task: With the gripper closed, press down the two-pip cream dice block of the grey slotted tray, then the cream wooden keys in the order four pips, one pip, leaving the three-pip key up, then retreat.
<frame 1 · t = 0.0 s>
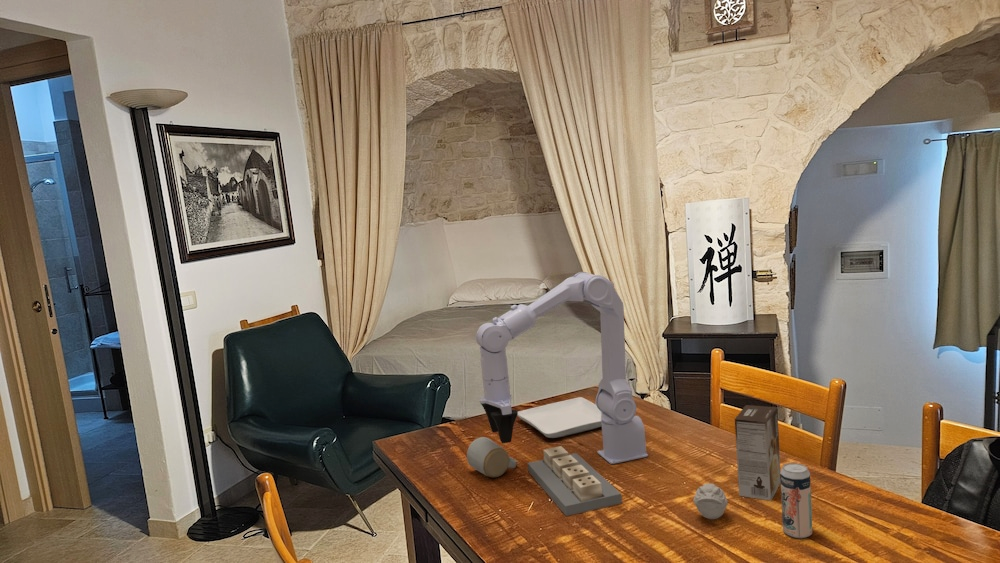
hand: (501, 436, 151), 10 cm above the table, tool pointing down, fingers open, 7 cm apart
beer can: (797, 534, 119), on the table
salad plate: (566, 426, 185), on the table
grey slotted tray: (571, 486, 146), on the table
key 4: (587, 488, 137), point 3 cm above the table, slide at 0.0 cm
cream dice block 2: (565, 467, 148), point 3 cm above the table, slide at 0.0 cm
ceramic mug: (494, 472, 158), on the table
key 3: (576, 477, 143), point 3 cm above the table, slide at 0.0 cm
coffee box: (760, 490, 136), on the table
key 1: (556, 457, 154), point 3 cm above the table, slide at 0.0 cm
frog figurine: (711, 519, 127), on the table
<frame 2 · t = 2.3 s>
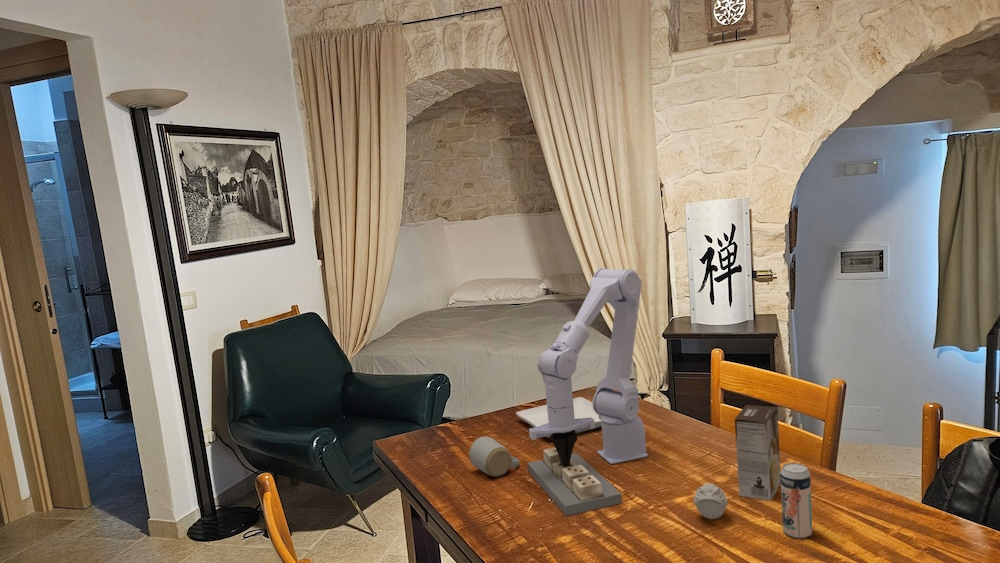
hand: (565, 464, 148), 4 cm above the table, tool pointing down, fingers closed, pressing on cream dice block 2
cream dice block 2: (566, 471, 149), point 2 cm above the table, slide at 1.1 cm, touching gripper
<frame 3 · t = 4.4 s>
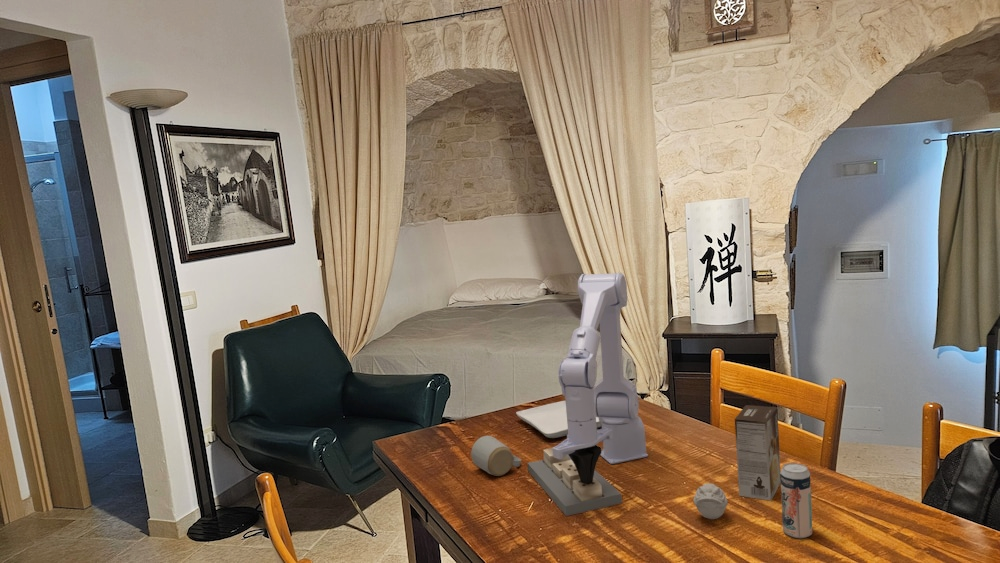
hand: (586, 482, 137), 4 cm above the table, tool pointing down, fingers closed, pressing on key 4
key 4: (587, 489, 137), point 3 cm above the table, slide at 0.3 cm, touching gripper
cream dice block 2: (566, 472, 149), point 2 cm above the table, slide at 1.1 cm
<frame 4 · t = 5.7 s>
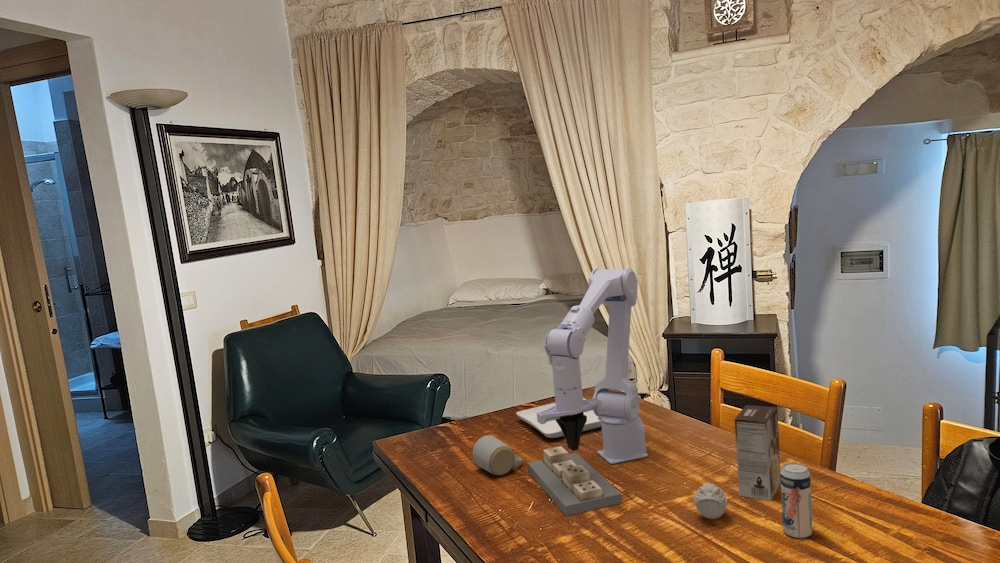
hand: (573, 448, 142), 9 cm above the table, tool pointing down, fingers closed
key 4: (587, 493, 137), point 2 cm above the table, slide at 1.1 cm
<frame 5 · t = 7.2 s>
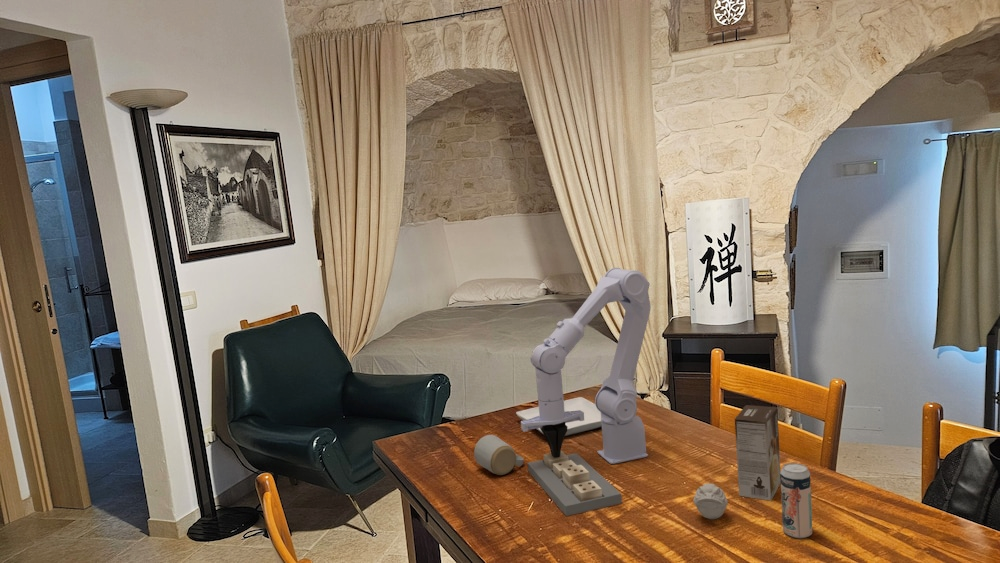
hand: (555, 455, 154), 4 cm above the table, tool pointing down, fingers closed, pressing on key 1
key 1: (556, 462, 154), point 2 cm above the table, slide at 1.1 cm, touching gripper
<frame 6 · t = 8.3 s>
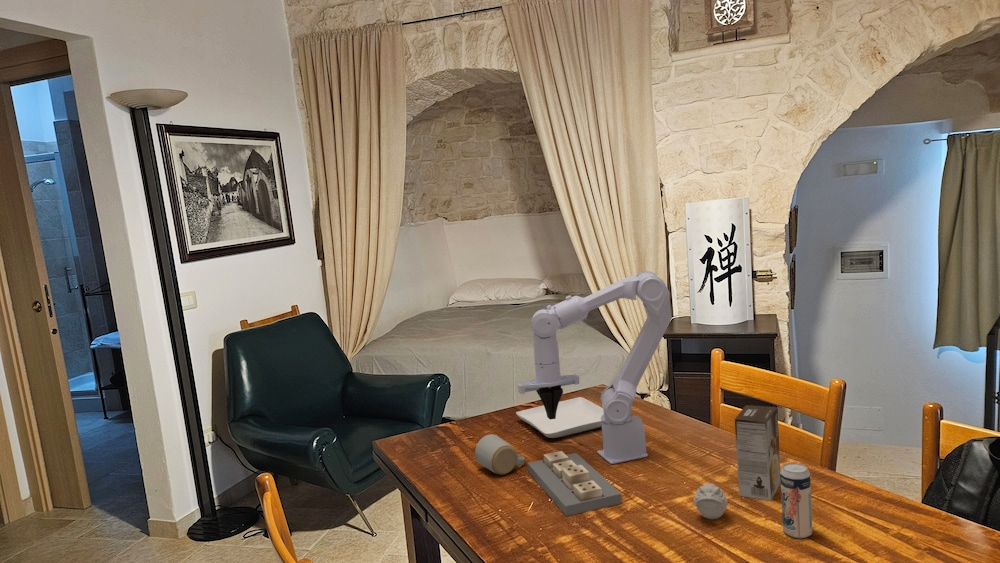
hand: (551, 417, 159), 10 cm above the table, tool pointing down, fingers closed
key 1: (556, 462, 154), point 2 cm above the table, slide at 1.1 cm
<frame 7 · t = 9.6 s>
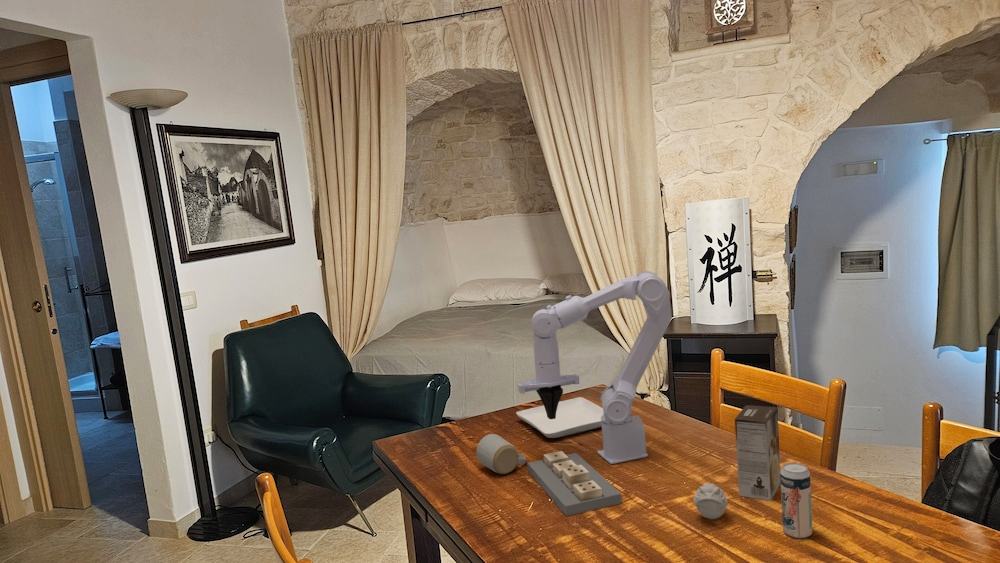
hand: (551, 417, 159), 10 cm above the table, tool pointing down, fingers closed
at the end: cream dice block 2 slide at 1.1 cm; key 4 slide at 1.1 cm; key 1 slide at 1.1 cm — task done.
